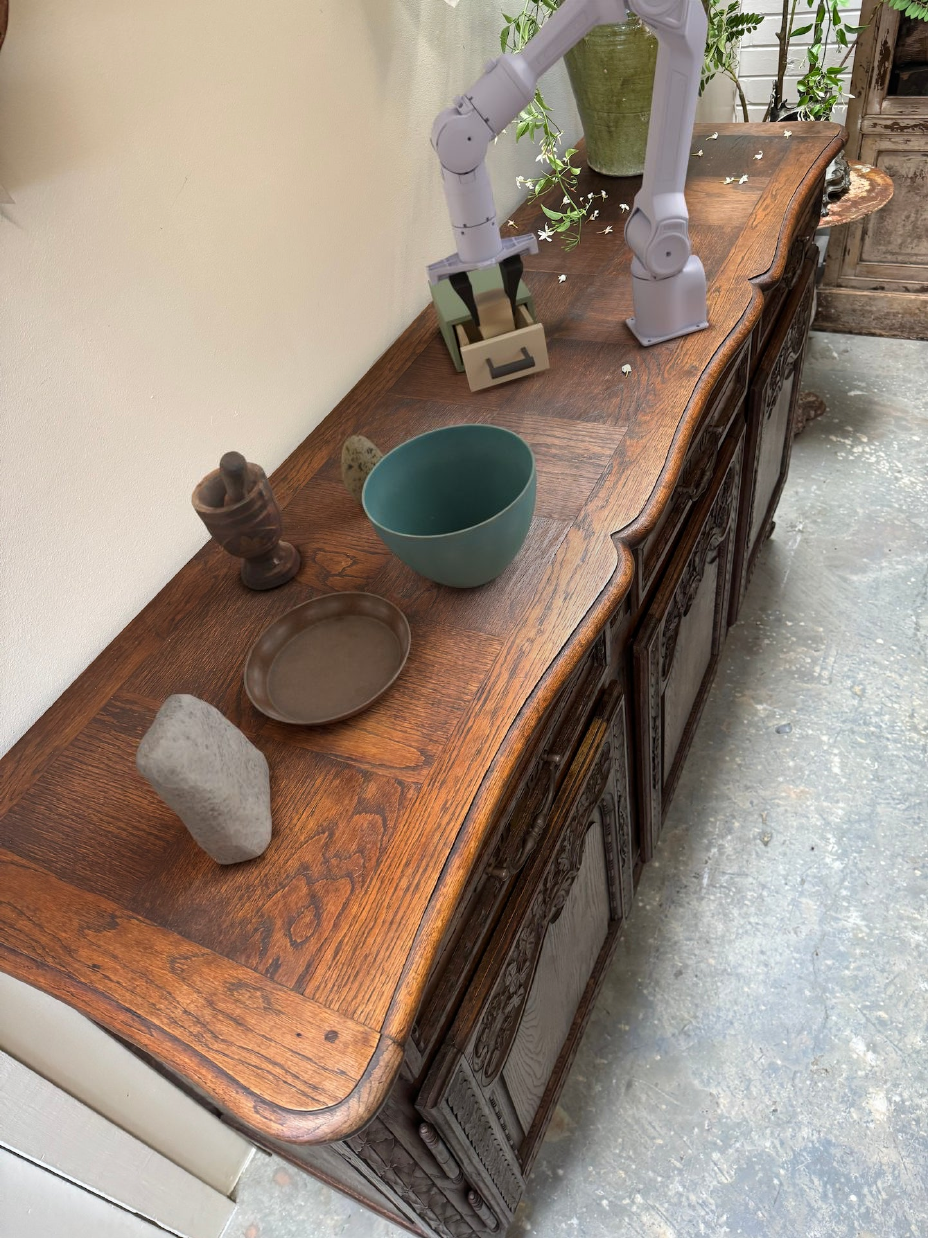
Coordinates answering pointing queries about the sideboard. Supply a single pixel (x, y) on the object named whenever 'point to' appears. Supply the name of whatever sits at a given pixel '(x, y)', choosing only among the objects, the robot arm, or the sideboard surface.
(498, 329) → the block
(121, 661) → the sideboard surface
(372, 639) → the plant saucer
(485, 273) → the cabinet
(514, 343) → the drawer
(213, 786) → the decorative stone
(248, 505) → the mortar and pestle
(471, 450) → the plant pot
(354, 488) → the decorative egg
